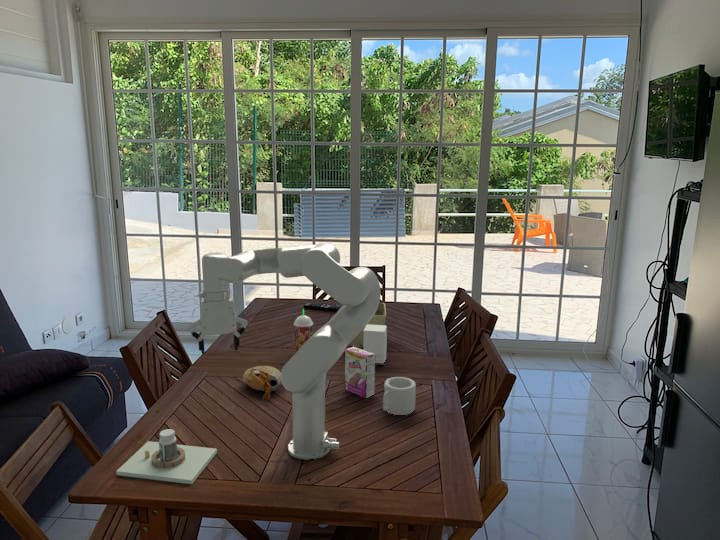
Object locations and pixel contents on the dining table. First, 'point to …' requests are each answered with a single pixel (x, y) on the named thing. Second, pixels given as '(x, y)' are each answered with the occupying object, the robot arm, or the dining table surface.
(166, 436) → the pill bottle
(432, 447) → the dining table surface
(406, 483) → the dining table surface
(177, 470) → the socket board
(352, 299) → the robot arm
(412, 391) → the mug
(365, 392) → the candy bar box
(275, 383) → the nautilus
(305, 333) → the smoothie
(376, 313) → the flower pot
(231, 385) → the dining table surface
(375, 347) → the supplement box
